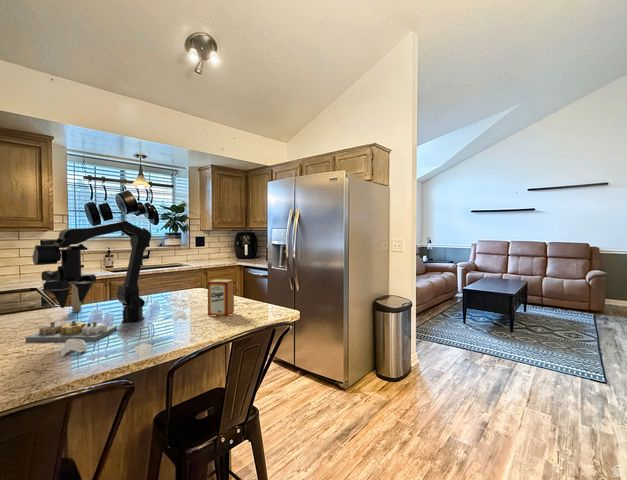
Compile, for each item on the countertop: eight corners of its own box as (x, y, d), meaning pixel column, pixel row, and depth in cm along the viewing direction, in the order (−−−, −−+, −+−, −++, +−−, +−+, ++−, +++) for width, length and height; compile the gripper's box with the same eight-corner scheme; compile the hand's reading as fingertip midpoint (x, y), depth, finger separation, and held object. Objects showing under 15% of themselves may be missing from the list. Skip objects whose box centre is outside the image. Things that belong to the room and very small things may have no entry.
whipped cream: (59, 354, 98) (57, 339, 98) (85, 347, 103) (83, 332, 102) (62, 360, 92) (60, 344, 92) (89, 352, 97) (87, 337, 97)
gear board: (117, 330, 119) (116, 316, 119) (95, 341, 107) (95, 325, 107) (54, 330, 118) (53, 316, 118) (25, 341, 106) (25, 325, 106)
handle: (87, 309, 150) (86, 279, 149) (73, 313, 143) (73, 281, 143) (79, 309, 151) (78, 278, 150) (66, 312, 145) (65, 280, 144)
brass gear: (90, 328, 116) (90, 321, 116) (76, 334, 109) (76, 327, 109) (71, 328, 116) (71, 321, 116) (56, 334, 109) (55, 327, 109)
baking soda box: (208, 315, 139) (207, 280, 139) (215, 312, 146) (215, 278, 145) (227, 317, 137) (227, 281, 137) (233, 313, 144) (233, 279, 143)
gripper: (68, 260, 122) (69, 299, 123) (26, 265, 104) (27, 311, 104) (96, 260, 123) (97, 299, 123) (60, 265, 104) (61, 311, 104)
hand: (72, 304), depth 114 cm, fingers open, 9 cm apart
